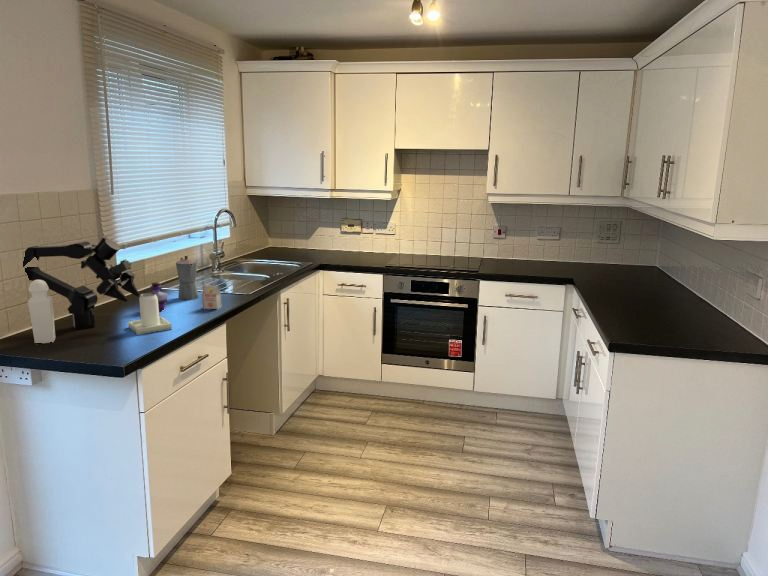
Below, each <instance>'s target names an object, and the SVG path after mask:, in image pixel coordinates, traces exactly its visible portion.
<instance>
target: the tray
mask: <svg viewBox="0 0 768 576" xmlns="http://www.w3.org/2000/svg"><path fill="white" fill-rule="evenodd" d="M159 320H160V324H159V325H157V326H151V327H143V326H142V325H141V319H137V320H131V321H130V320H129V321H128V328H129V329H130V330H131V331H132V332H133V333H134V334H135V333H136V334H137V335H136V334H135V335H136V336H139V335H138V334H140V335H146V334H151V333H150V332H153V333H157V332H156V331H159V332H163V331H162V330H165V331H170V330H169V329H171V330H172V328H173V327H172V323H171V322H170V321H168V319H166V318H164V317H163V316H159ZM145 333H146V334H145Z"/></svg>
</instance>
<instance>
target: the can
mask: <svg viewBox="0 0 768 576" xmlns="http://www.w3.org/2000/svg"><path fill="white" fill-rule="evenodd" d="M139 294H140V295H139V299H138V302H139V312H140V313H139V314H140V320H141V325H142V326H143V327H151V326H157V325H159V324H160V320H159V317H160V312H159V308H158V298H157V296H156V293H153V292H145V293H139Z"/></svg>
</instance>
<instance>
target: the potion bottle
mask: <svg viewBox="0 0 768 576" xmlns="http://www.w3.org/2000/svg"><path fill="white" fill-rule="evenodd" d="M162 288H163V285H161V282H159V281H157V282H152V283H151V285H150V290H152V293H156V296H157V298H158V308H159V311H160V312H163V311H162V310H164V309H165V310H166V303H167V301H168V295H169V294H168V293H166V292H162V291H161V289H162ZM165 310H164V311H165Z"/></svg>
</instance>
